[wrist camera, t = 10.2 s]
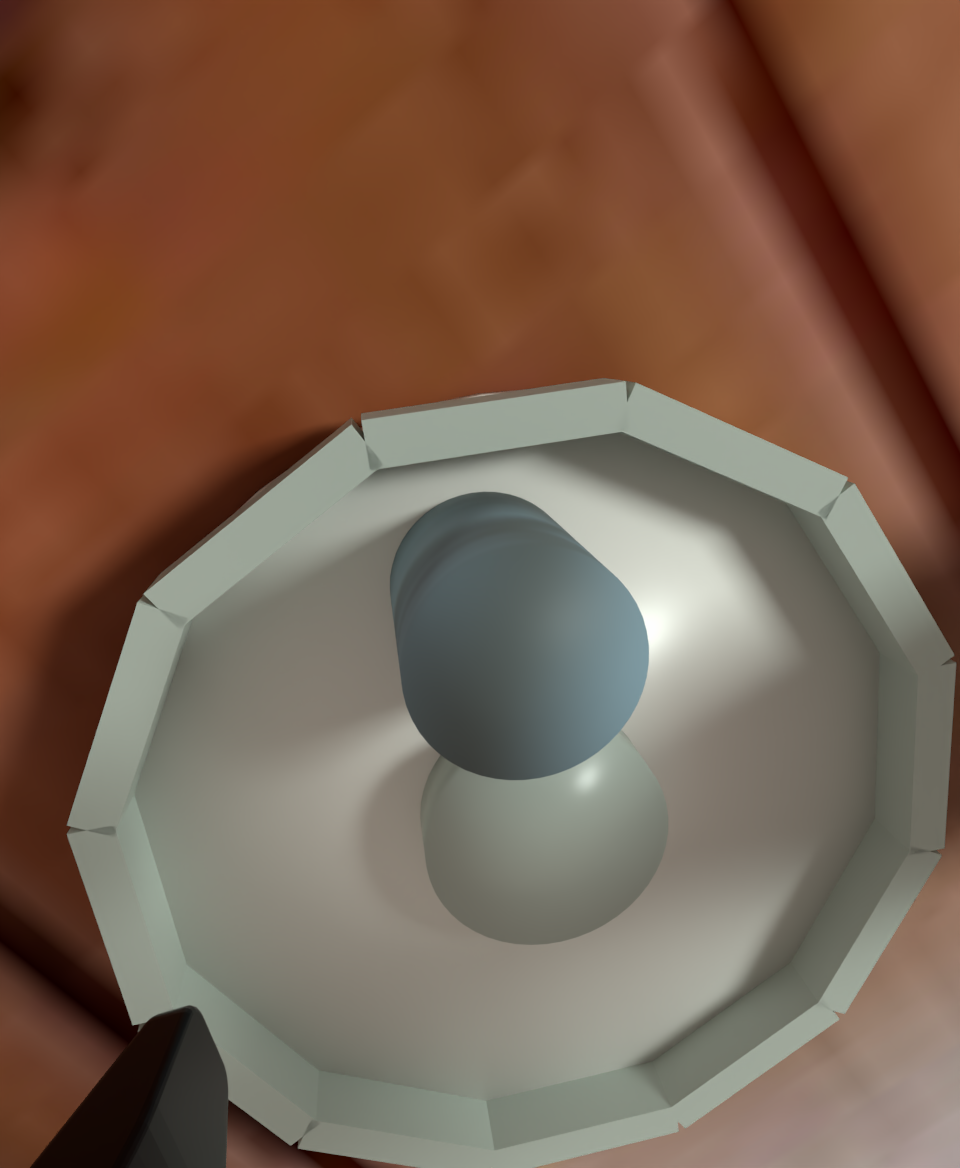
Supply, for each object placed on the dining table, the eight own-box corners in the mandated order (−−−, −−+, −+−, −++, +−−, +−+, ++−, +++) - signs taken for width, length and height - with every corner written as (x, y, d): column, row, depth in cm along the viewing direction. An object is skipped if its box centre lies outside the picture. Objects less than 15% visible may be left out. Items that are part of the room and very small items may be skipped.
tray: (1028, 566, 21) (1103, 591, 19) (690, 1142, 26) (721, 1214, 24) (273, 230, 16) (260, 214, 14) (18, 1019, 21) (-21, 1098, 19)
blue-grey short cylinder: (605, 530, 18) (690, 595, 14) (531, 694, 19) (587, 807, 15) (431, 462, 17) (458, 507, 13) (362, 638, 18) (363, 741, 14)
